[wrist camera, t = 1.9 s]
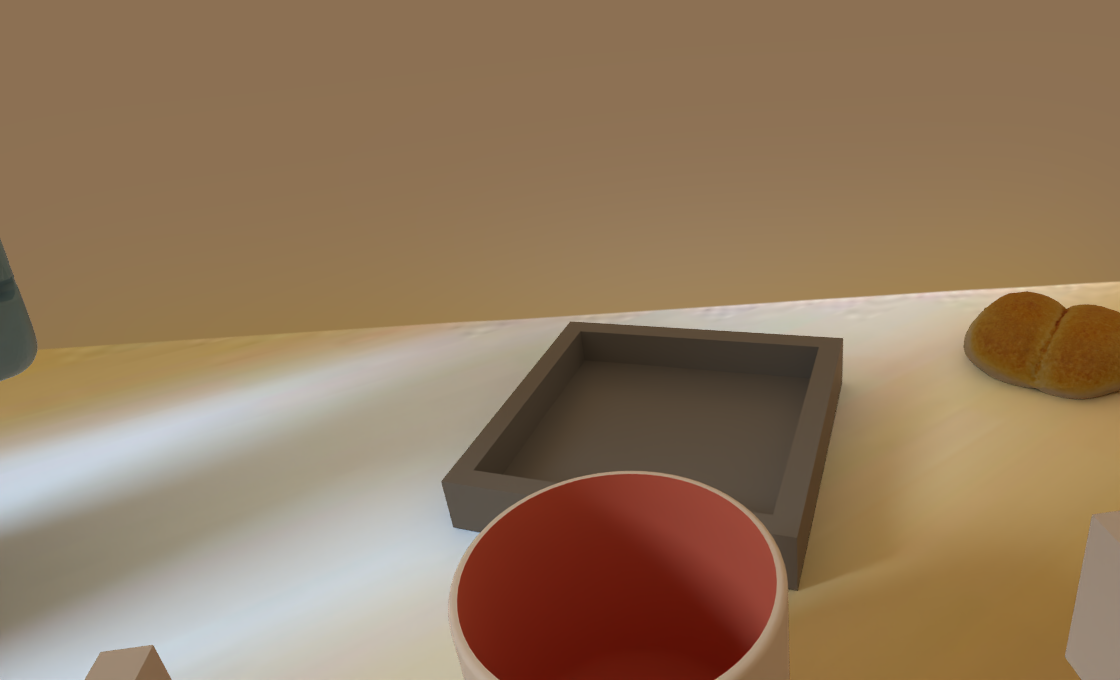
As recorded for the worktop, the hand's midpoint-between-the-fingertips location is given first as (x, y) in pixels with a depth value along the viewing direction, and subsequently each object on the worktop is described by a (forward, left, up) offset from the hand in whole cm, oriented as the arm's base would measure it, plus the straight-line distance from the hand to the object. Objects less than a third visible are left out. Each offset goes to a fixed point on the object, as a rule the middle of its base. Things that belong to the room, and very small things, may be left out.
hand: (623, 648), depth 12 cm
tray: (-9, +28, -18) cm, 35 cm away
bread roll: (+10, +41, -18) cm, 46 cm away
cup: (-4, +9, -18) cm, 21 cm away
